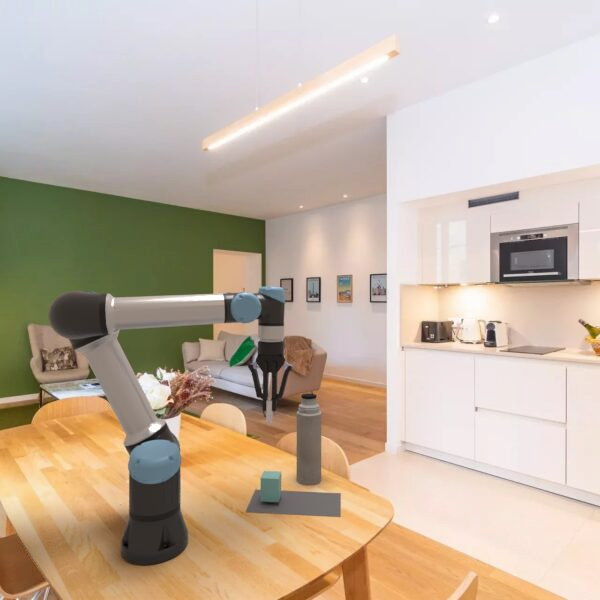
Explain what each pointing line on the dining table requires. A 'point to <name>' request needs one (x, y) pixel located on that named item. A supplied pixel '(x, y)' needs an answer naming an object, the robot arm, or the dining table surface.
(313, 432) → the thermos bottle
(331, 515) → the mat
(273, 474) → the teal rectangular block
